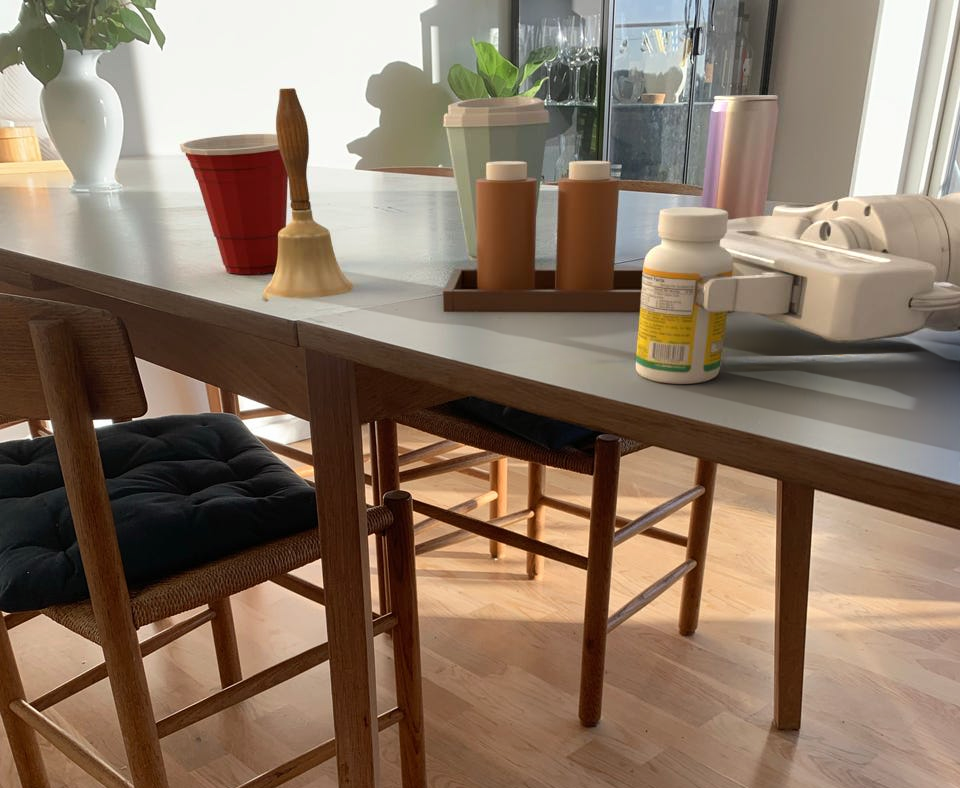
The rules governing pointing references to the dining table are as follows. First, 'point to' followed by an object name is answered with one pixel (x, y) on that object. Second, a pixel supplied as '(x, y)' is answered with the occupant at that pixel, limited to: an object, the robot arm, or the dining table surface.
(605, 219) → the amber bottle
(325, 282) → the hand bell
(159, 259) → the dining table surface
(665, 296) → the supplement bottle
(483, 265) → the far amber bottle
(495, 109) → the disposable coffee cup
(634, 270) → the tray
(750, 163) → the beverage can
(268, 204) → the plastic cup
